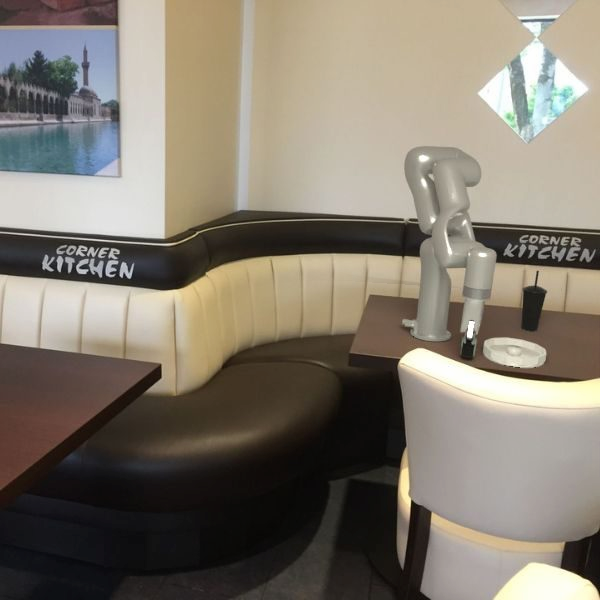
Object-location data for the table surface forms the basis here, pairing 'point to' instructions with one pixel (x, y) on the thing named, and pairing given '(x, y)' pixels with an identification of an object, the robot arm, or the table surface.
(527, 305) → the drinking cup
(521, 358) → the ring tray
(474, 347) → the bead
